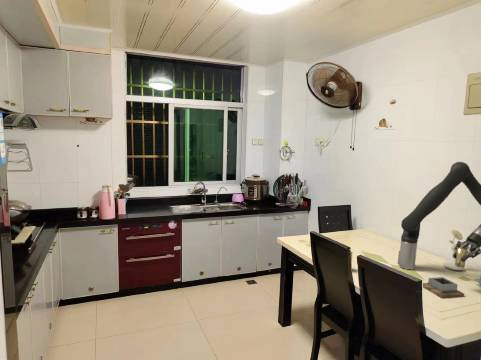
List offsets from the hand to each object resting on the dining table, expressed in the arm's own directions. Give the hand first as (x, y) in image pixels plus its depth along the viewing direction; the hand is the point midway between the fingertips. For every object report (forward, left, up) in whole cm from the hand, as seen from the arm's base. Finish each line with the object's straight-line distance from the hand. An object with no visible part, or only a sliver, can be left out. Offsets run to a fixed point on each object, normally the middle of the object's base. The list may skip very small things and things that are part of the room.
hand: (457, 259), depth 176 cm
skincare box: (-32, -48, -17) cm, 60 cm away
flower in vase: (-25, +24, -17) cm, 39 cm away
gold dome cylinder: (0, +2, -4) cm, 5 cm away
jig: (+2, -10, -17) cm, 20 cm away
